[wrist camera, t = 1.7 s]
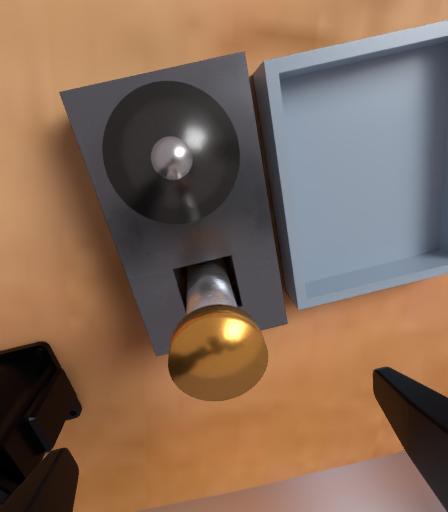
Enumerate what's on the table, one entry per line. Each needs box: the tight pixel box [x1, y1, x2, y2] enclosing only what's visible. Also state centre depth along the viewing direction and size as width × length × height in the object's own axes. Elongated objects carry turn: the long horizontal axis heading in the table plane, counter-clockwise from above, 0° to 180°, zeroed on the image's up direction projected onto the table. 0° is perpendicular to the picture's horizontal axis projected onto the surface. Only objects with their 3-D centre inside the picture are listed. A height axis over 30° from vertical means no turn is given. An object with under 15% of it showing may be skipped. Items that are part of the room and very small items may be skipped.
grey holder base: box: [59, 51, 288, 356], centre depth 15 cm, size 8×14×5 cm, turn 12°
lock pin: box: [168, 257, 268, 401], centre depth 15 cm, size 4×4×9 cm
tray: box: [253, 20, 448, 310], centre depth 17 cm, size 11×13×2 cm
